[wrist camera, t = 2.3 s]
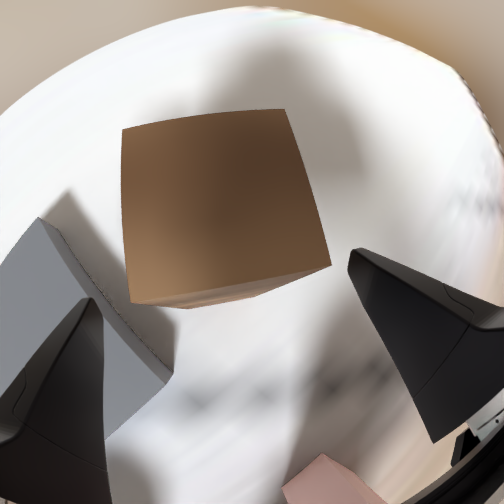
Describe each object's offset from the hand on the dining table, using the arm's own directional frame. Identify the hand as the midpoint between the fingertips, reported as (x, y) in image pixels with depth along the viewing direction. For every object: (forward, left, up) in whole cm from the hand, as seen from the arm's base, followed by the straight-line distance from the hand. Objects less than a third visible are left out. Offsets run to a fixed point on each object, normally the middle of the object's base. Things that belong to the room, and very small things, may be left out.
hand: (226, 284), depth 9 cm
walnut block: (+2, -1, -9) cm, 10 cm away
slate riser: (+6, +13, -9) cm, 17 cm away
